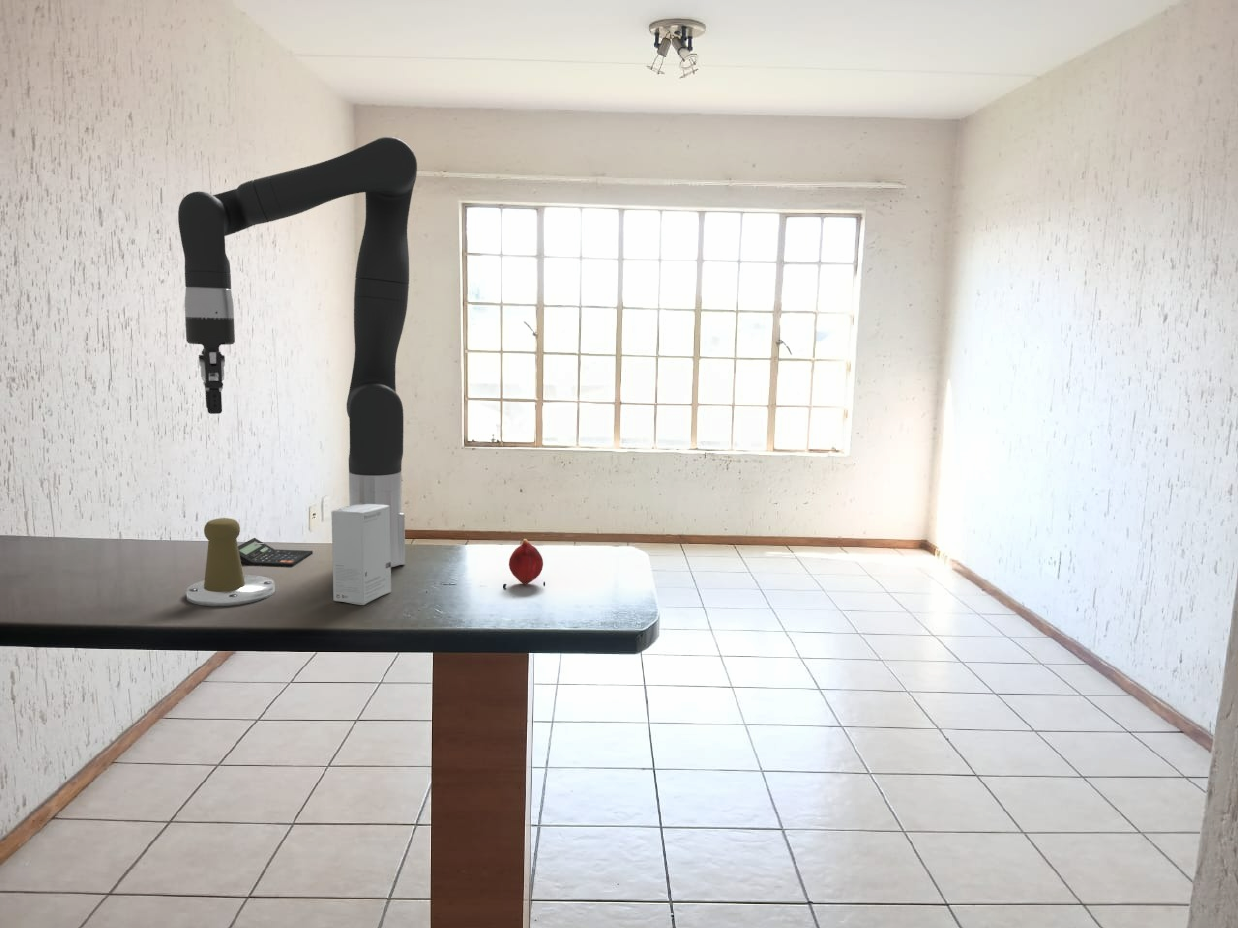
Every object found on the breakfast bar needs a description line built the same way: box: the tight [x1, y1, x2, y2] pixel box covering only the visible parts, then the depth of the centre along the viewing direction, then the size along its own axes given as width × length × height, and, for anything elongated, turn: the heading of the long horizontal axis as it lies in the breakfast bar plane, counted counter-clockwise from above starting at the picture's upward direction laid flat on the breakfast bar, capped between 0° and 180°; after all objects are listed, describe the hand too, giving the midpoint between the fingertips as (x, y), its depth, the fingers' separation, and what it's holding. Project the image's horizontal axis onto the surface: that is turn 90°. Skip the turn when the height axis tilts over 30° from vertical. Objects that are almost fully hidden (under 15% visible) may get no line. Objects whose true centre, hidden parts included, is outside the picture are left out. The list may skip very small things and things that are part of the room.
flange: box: [185, 574, 276, 607], centre depth 140 cm, size 13×13×1 cm
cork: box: [203, 517, 245, 592], centre depth 139 cm, size 6×6×11 cm
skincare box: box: [330, 503, 392, 606], centre depth 140 cm, size 8×6×15 cm
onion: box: [508, 538, 544, 586], centre depth 150 cm, size 6×6×8 cm
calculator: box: [238, 537, 313, 568], centre depth 161 cm, size 9×12×3 cm
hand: (214, 411), depth 150 cm, fingers open, 8 cm apart
